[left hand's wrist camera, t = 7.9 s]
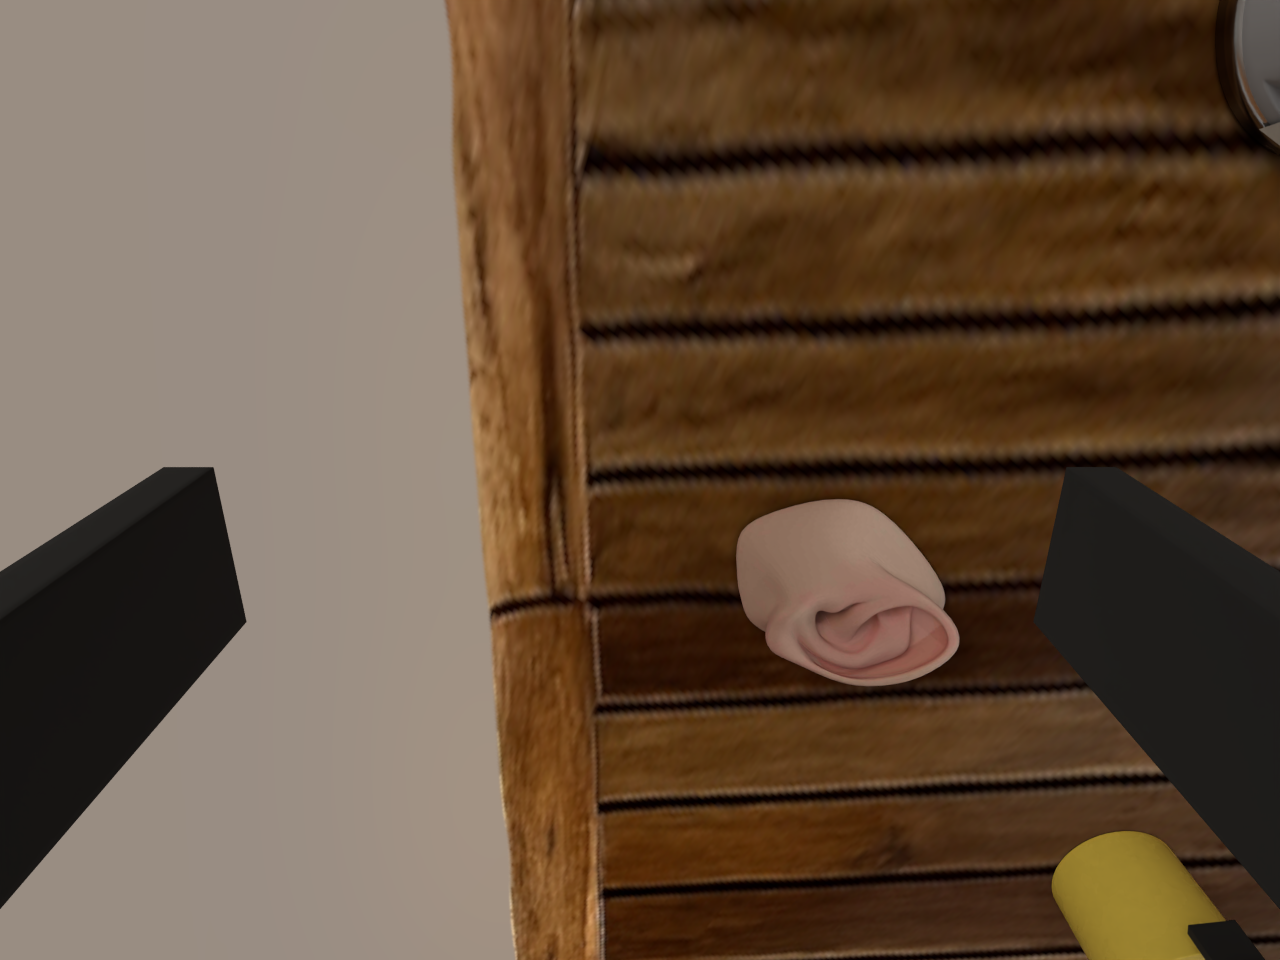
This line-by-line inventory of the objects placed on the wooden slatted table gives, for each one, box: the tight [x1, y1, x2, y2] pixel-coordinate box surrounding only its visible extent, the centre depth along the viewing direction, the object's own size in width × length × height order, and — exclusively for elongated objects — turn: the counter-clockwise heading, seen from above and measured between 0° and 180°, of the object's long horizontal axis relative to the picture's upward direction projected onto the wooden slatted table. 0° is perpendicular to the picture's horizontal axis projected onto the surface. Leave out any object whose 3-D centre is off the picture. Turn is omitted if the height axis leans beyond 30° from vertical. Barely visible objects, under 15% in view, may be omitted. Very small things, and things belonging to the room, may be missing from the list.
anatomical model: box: [736, 499, 959, 686], centre depth 48 cm, size 13×4×12 cm
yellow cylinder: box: [1052, 831, 1226, 960], centre depth 55 cm, size 9×9×10 cm
